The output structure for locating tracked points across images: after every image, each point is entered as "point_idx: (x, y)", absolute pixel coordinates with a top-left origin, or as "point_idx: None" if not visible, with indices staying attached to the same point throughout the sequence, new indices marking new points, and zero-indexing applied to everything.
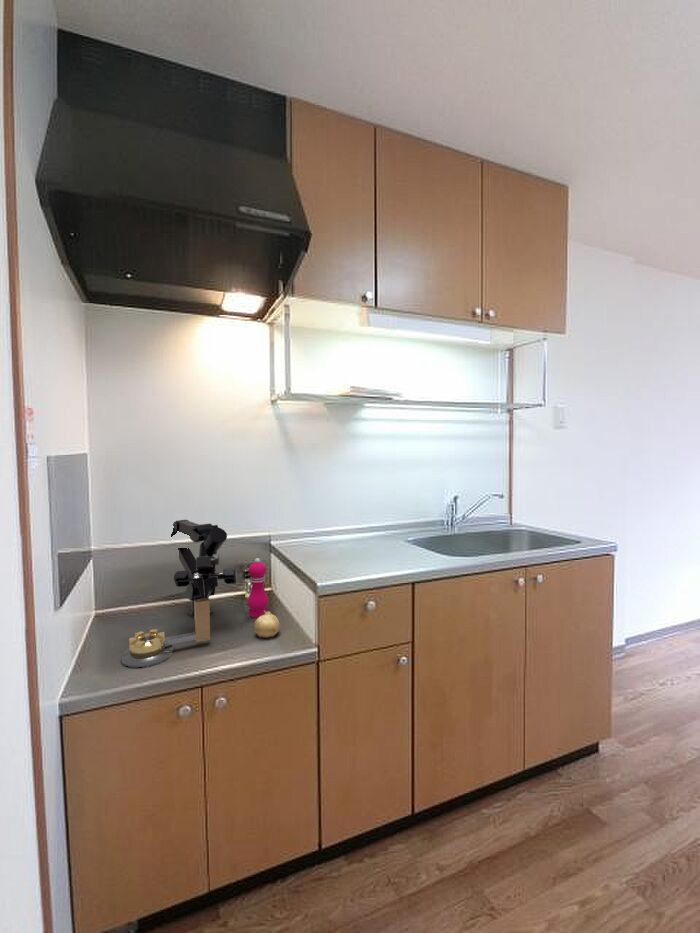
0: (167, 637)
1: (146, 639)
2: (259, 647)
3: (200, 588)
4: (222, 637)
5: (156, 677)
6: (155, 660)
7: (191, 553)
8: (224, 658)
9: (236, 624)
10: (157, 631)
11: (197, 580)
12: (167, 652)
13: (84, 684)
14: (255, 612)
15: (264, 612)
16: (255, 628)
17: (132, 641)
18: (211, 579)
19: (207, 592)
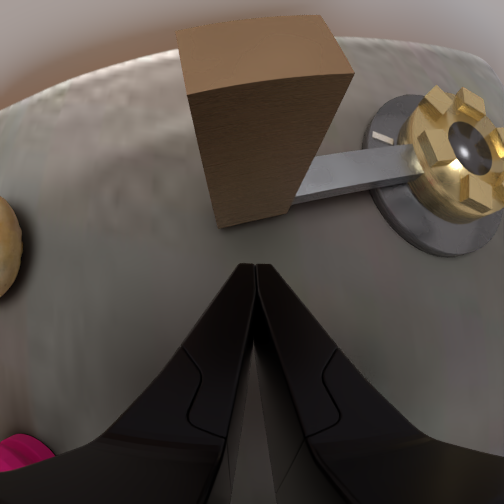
0: (411, 172)
1: (473, 148)
2: (39, 153)
3: (350, 383)
4: (159, 272)
5: (357, 48)
6: (395, 99)
7: None
8: (158, 92)
9: (104, 404)
10: (466, 190)
11: (495, 468)
12: (376, 130)
13: (493, 91)
14: (26, 448)
15: (3, 441)
16: (10, 217)
17: (500, 128)
18: (47, 491)
19: (209, 331)
